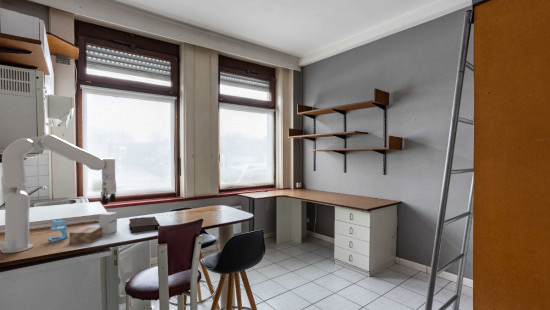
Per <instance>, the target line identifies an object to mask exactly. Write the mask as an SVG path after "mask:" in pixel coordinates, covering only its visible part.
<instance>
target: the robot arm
mask: <svg viewBox="0 0 550 310" xmlns="http://www.w3.org/2000/svg"><path fill="white" fill-rule="evenodd" d="M47 150H48V151H50V152H52V153H55V154H56V155H59V156H61V157H63V158H65V159H66V160H70V161H73V162H77V163H80V164H82V165H85V166H87V168H88V169H90V170H93V171H101V180H102V181H101V191H100V197H101V200H102V201H101V205H108V203H109V202H111V203H112V202H116V195H117V181H116V159H115V158H113V157H104V158H101V157H99V156H97V155H94V154H92V153H91V152H88V151H87V150H84V149H82V148H80V147H78V146H76V145H74V144H73V143H70V142H68V141H66V140H64V139H61V138H60V137H58V136H56V135H54V134H45V135H41V136H33V137H24V138H23V137H21V138H18V139H16V140H14V141H13V142H11V143H10V144H8V145H7V146H6V147H5V149H4V150H3V152H2V154H1V155H2V156H1V162H2V163H1V165H2V168H1V169H2V175H1V187H2V195H3V200H4V204H5V205H4V206H5V207H4V208H5V209H4V210H5V212H4V216H5V217H4V222H5V223H4V224H5V225H4V228H5V229H4V237H5V238H4V241H0V247H2V248H1V249H0V252H1V253H3V254H11V253H12V254H13V253H18V252H24V251H28V250H30V249H32V248H33V247H34V245H33V243H30V207H31V198H30V196H29V194H28V193H27V189H26V182H27V177H26V171H25V162H24V161H25V157H26V156H27V154H30V153H35V152H41V151H47ZM108 196H109V199H108Z"/></svg>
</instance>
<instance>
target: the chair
mask: <svg viewBox="0 0 550 310" xmlns="http://www.w3.org/2000/svg"><path fill="white" fill-rule="evenodd" d="M50 223H51V227H50V230H52V231H53V232H55V231H59V232H60V234H61V235H60V236H54V237H48V239H47V240H48V241H51V242H52V243H55V242H58V241H61V240H65V239H69V237H68V233H67V230H68V226H67V223H68V221H65V220H64V219H63V220H62V219H53V220H52V221H50ZM58 224H60V225H58ZM57 225H58V226H57Z"/></svg>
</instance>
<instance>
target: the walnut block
mask: <svg viewBox="0 0 550 310" xmlns="http://www.w3.org/2000/svg"><path fill="white" fill-rule="evenodd" d="M102 237H103V234H102V227H99V226H84V227H83V226H82V227H79V228H78V229H75V230H73V231H70V232H69V237H68V239H69V244H91V243H94V242H95V241H97V240H99V239H101V238H102Z"/></svg>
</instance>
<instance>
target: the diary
mask: <svg viewBox="0 0 550 310" xmlns="http://www.w3.org/2000/svg"><path fill="white" fill-rule="evenodd" d="M128 221H129V223H128V227H129V229H130V231H131V232H130V234H137V233H144V232H150V231H151V232H153V231H157V230H159V229H158V226H160V227H161V225H160V223H159V222H158V220H157V219H156V216H144V217H134V218H129V219H128Z"/></svg>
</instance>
